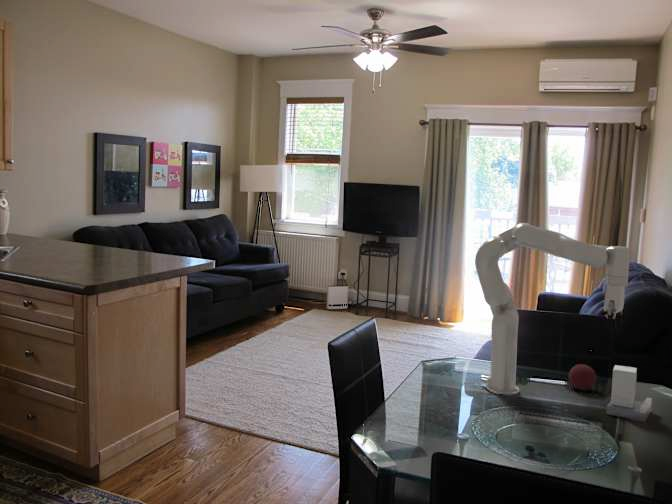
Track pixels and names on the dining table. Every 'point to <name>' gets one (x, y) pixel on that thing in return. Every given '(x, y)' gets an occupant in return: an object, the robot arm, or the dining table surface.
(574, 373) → the decorative ball
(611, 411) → the stand plate
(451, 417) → the dining table surface
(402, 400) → the dining table surface
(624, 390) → the supplement box
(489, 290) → the robot arm
